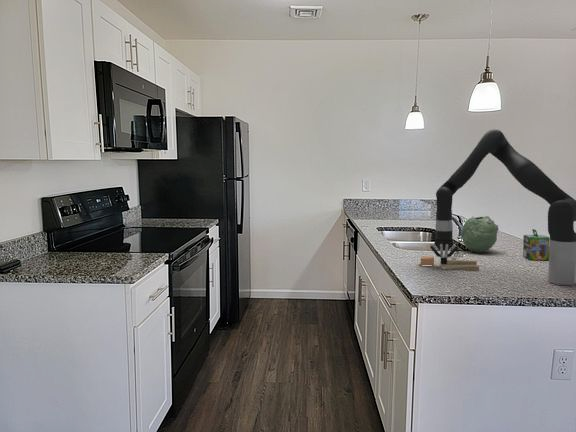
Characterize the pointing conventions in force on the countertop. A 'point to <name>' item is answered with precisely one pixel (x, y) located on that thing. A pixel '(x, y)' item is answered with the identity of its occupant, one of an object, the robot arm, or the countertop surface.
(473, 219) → the cabbage
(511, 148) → the robot arm
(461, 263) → the chute
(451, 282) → the countertop surface
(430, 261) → the terracotta block
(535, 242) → the chalk box
